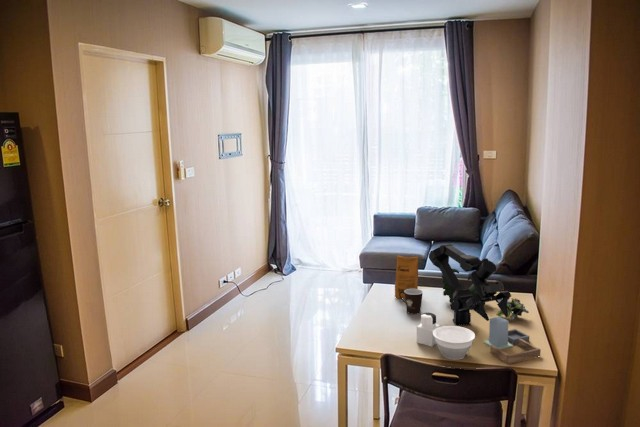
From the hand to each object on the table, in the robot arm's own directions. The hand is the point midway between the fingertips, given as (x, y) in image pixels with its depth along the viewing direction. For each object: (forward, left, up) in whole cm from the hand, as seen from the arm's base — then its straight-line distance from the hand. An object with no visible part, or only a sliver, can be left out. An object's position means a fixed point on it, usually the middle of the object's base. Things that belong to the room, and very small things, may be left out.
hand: (497, 318), depth 197 cm
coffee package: (-26, +59, -11) cm, 65 cm away
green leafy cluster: (+16, +25, -11) cm, 31 cm away
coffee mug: (-27, +40, -11) cm, 49 cm away
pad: (0, -1, -11) cm, 11 cm away
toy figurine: (+2, +46, -11) cm, 47 cm away
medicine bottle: (-27, +5, -11) cm, 29 cm away
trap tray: (+9, +4, -11) cm, 14 cm away
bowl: (-20, -7, -11) cm, 24 cm away
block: (0, -1, -10) cm, 10 cm away
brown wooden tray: (+3, -9, -11) cm, 15 cm away
